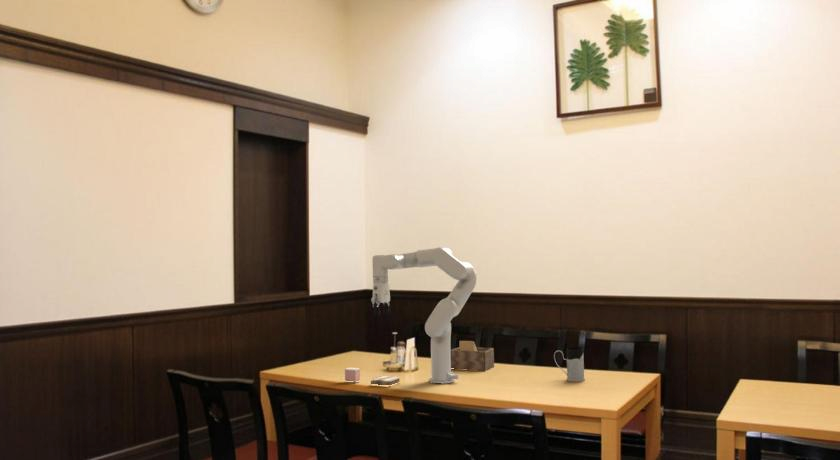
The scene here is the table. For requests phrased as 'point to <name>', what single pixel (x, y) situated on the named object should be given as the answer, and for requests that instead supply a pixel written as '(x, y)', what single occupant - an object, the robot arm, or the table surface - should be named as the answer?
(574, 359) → the glass holder
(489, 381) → the table surface
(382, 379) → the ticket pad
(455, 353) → the brown storage basket
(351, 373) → the pink block
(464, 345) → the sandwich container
